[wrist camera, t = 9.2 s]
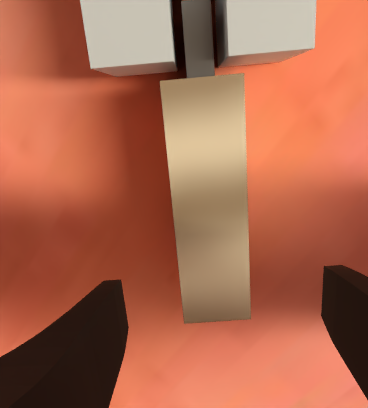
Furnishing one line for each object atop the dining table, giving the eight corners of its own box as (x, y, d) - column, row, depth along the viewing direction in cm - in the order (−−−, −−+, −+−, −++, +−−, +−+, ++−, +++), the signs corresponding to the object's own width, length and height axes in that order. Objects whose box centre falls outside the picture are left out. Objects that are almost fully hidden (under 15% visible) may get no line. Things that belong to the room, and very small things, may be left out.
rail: (237, 271, 22) (250, 319, 17) (184, 274, 22) (184, 323, 17) (226, 19, 17) (241, -11, 13) (161, 26, 17) (151, -2, 13)
